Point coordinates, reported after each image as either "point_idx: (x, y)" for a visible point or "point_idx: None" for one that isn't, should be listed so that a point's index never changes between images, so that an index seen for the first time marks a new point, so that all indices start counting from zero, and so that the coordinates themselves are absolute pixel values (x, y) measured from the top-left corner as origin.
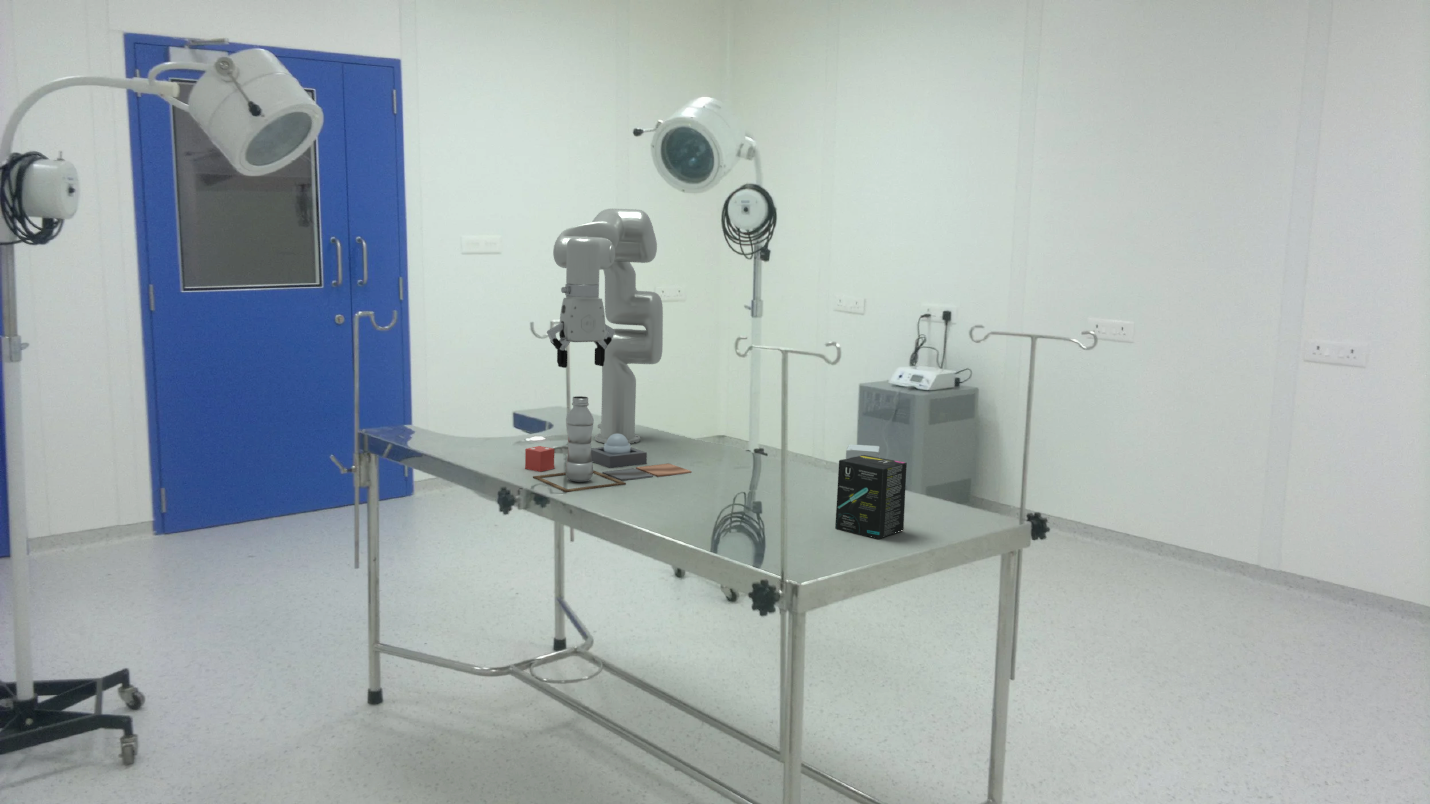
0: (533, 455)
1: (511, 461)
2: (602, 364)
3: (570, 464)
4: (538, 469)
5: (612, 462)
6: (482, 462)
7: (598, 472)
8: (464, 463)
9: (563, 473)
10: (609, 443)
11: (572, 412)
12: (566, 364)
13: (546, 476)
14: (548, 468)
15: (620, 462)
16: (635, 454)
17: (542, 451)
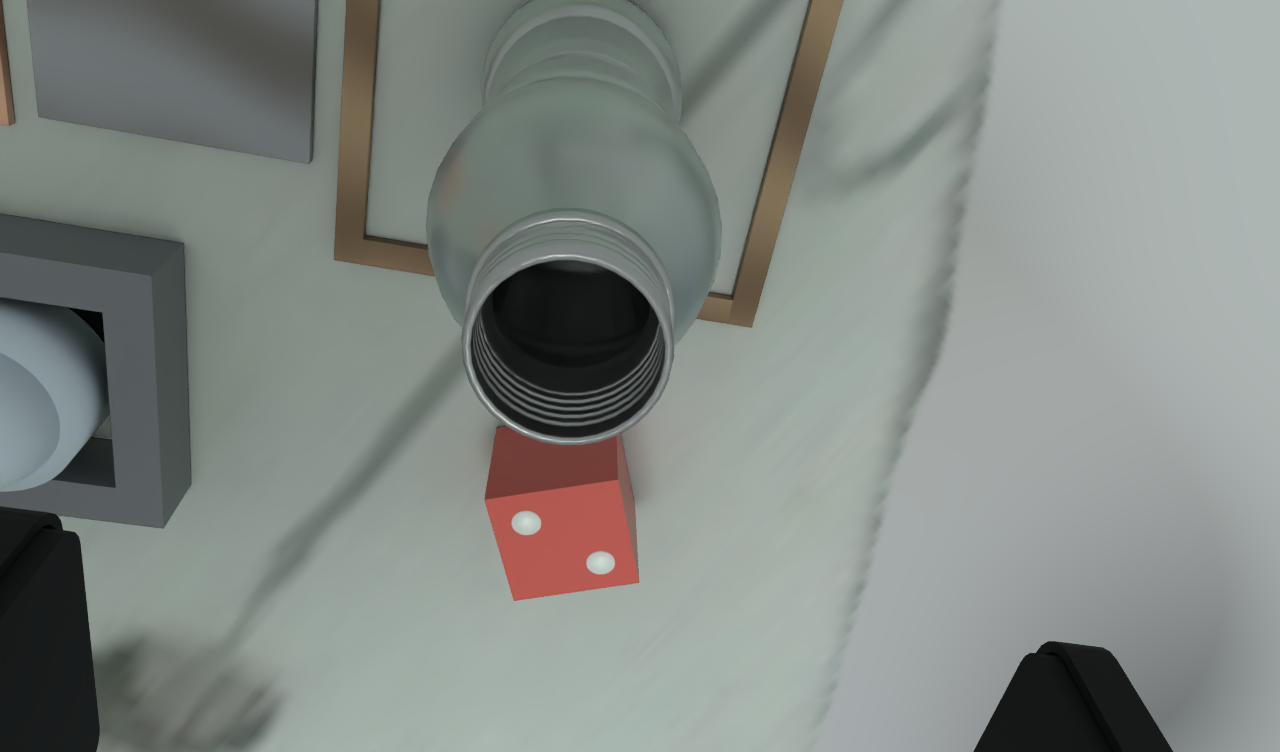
0: (626, 509)
1: (581, 655)
2: (15, 521)
3: (677, 106)
4: None
5: (145, 254)
6: (710, 702)
7: (345, 163)
8: (789, 725)
9: None
10: (46, 418)
11: (687, 277)
12: (1091, 687)
13: None
14: None
15: (79, 240)
16: None
17: (599, 482)
